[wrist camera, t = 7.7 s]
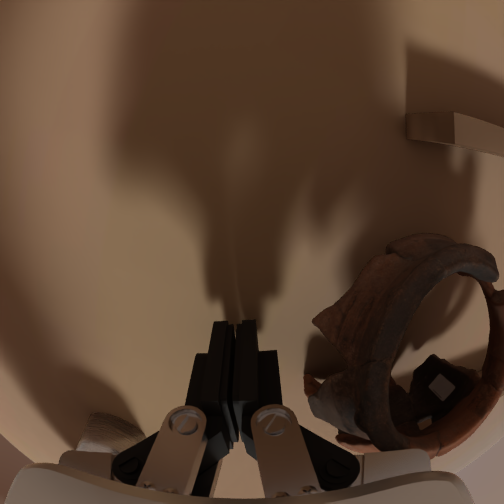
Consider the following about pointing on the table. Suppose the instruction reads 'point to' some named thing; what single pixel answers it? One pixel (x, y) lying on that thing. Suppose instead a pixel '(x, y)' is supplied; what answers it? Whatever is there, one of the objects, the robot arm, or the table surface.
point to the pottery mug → (386, 345)
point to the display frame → (455, 142)
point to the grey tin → (108, 434)
